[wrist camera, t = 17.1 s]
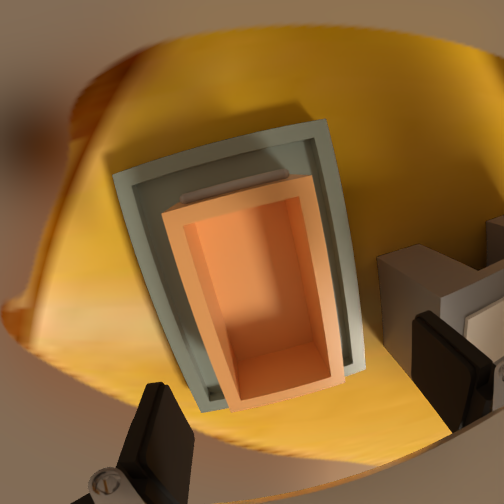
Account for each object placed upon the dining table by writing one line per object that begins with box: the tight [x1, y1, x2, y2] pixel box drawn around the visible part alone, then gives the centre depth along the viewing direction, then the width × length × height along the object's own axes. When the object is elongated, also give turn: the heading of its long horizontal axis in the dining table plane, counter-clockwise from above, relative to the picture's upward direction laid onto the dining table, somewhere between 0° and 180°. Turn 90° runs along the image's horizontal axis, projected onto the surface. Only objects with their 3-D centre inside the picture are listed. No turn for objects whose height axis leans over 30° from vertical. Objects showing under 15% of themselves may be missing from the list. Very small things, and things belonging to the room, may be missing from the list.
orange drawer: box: [161, 169, 345, 412], centre depth 18 cm, size 13×7×5 cm, turn 14°
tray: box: [112, 119, 366, 413], centre depth 20 cm, size 18×13×2 cm
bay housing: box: [377, 215, 504, 381], centre depth 19 cm, size 16×8×8 cm, turn 104°
